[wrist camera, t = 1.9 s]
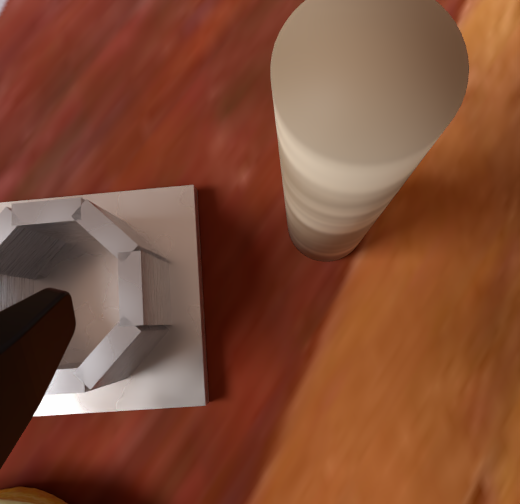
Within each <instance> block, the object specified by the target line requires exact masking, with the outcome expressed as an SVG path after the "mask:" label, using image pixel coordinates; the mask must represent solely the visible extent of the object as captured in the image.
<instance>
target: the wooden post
mask: <svg viewBox="0 0 520 504" xmlns="http://www.w3.org/2000/svg"><path fill="white" fill-rule="evenodd" d="M468 75H469V63H468V54H467V49H466V45H465V42H464V40H463V37H462V34H461V32H460V30H459V28H458V27H457V25H456V23H455V21H454V20H453V19H452V17H451V16H450V15H449V13H448V12H447V11H446V10H445V9H444V8H443V7H442V6H441V5H440V4H439V3H438V2H436V1H435V0H306V1H305V2H303V3H302V4H301V5H300V6H299V7H298V8H297V9H296V10H295V11H294V12H293V13H292V14H291V16H290V17H289V18H288V19H287V21H286V22H285V24H284V26H283V27H282V29H281V31H280V33H279V35H278V37H277V40H276V42H275V45H274V49H273V53H272V58H271V85H272V94H273V102H274V111H275V120H276V128H277V137H278V146H279V154H280V163H281V172H282V180H283V189H284V198H285V207H286V215H287V224H288V231H289V235H290V238H291V240H292V242H293V244H294V245H295V247H296V248H297V249H298V250H299V251H300V252H301V253H302V254H304V255H305V256H307V257H309V258H311V259H314V260H317V261H335V260H338V259H341V258H343V257H345V256H347V255H348V254H349V253H351V252H352V251H353V250H354V249H355V248H356V246H357V245H358V244H359V242H360V241H361V240H362V238H363V237H364V236H365V234H366V233H367V232H368V230H369V229H370V228H371V226H372V225H373V224H374V223H375V221H376V220H377V219H378V217H379V216H380V215H381V213H382V212H383V211H384V209H385V208H386V207H387V205H388V204H389V203H390V201H391V200H392V199H393V197H394V196H395V195H396V193H397V192H398V191H399V189H400V188H401V187H402V186H403V184H404V183H405V182H406V180H407V179H408V178H409V176H410V175H411V174H412V172H413V171H414V170H415V168H416V167H417V166H418V164H419V163H420V162H421V160H422V159H423V158H424V156H425V155H426V154H427V152H428V151H429V150H430V148H431V147H432V146H433V145H434V143H435V142H436V141H437V139H438V138H439V137H440V135H441V134H442V133H443V131H444V130H445V129H446V127H447V126H448V125H449V123H450V122H451V121H452V119H453V118H454V117H455V115H456V113H457V111H458V109H459V108H460V106H461V104H462V101H463V98H464V96H465V93H466V88H467V84H468Z"/></svg>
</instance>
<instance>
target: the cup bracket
mask: <svg viewBox="0 0 520 504" xmlns="http://www.w3.org/2000/svg"><path fill="white" fill-rule="evenodd" d="M45 288H56V289H60V290H64V291H67V292H69V293H70V295H71V297H72V302H73V308H74V313H75V318H76V328H75V332H74V335H73V337H72V339H71V341H70V343H69V345H68V347H67V349H66V351H65V354H64V356H63V358H62V360H61V362H60V364H59V366H58V368H57V370H56V372H55V375H54V377H53V379H52V381H51V383H50V385H49V387H48V389H47V391H46V393H45V395H44V397H43V399H42V401H41V403H40V405H39V407H38V408H37V410H36V412H35V414H34V415H33V416H46V415H62V414H78V413H94V412H110V411H126V410H142V409H158V408H174V407H190V406H206V405H207V404H208V403H209V391H208V373H207V355H206V337H205V319H204V300H203V282H202V264H201V246H200V228H199V210H198V191H197V189H196V187H195V186H194V185H186V186H176V187H165V188H154V189H143V190H132V191H122V192H111V193H100V194H89V195H79V196H68V197H57V198H46V199H36V200H25V201H14V202H3V203H0V311H2V310H4V309H6V308H8V307H10V306H11V305H13V304H15V303H17V302H19V301H21V300H23V299H25V298H27V297H29V296H31V295H33V294H35V293H37V292H39V291H40V290H42V289H45Z"/></svg>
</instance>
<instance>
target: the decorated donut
mask: <svg viewBox="0 0 520 504" xmlns="http://www.w3.org/2000/svg"><path fill="white" fill-rule="evenodd" d="M0 504H68V503H66V502H64V501H63V500H62V499H59V498H57V497H56V496H54V495H53V494H50V493H47V492H45V491H42V490H39V489H36V488H27V487H15V488H10V489H3V490H0Z"/></svg>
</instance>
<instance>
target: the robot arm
mask: <svg viewBox="0 0 520 504" xmlns="http://www.w3.org/2000/svg"><path fill="white" fill-rule="evenodd" d="M75 328H76V318H75V313H74V308H73V302H72V297H71V295H70V293H69V292H67V291H64V290H60V289H56V288H45V289H42V290H40V291H39V292H37V293H35V294H33V295H31V296H29V297H27V298H25V299H23V300H21V301H19V302H17V303H15V304H13V305H11V306H10V307H8V308H6V309H4V310H2V311H0V469H1V467H2V466H3V464H4V462H5V461H6V459H7V457H8V456H9V454H10V453H11V451H12V449H13V448H14V446H15V445H16V443H17V441H18V440H19V438H20V436H21V435H22V433H23V432H24V430H25V428H26V427H27V425H28V424H29V422H30V420H31V419H32V417H33V415H34V414H35V412H36V410H37V408H38V407H39V405H40V403H41V401H42V399H43V397H44V395H45V393H46V391H47V389H48V387H49V385H50V383H51V381H52V379H53V377H54V375H55V372H56V370H57V368H58V366H59V364H60V362H61V360H62V358H63V356H64V354H65V351H66V349H67V347H68V345H69V343H70V341H71V339H72V337H73V335H74V332H75Z"/></svg>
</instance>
